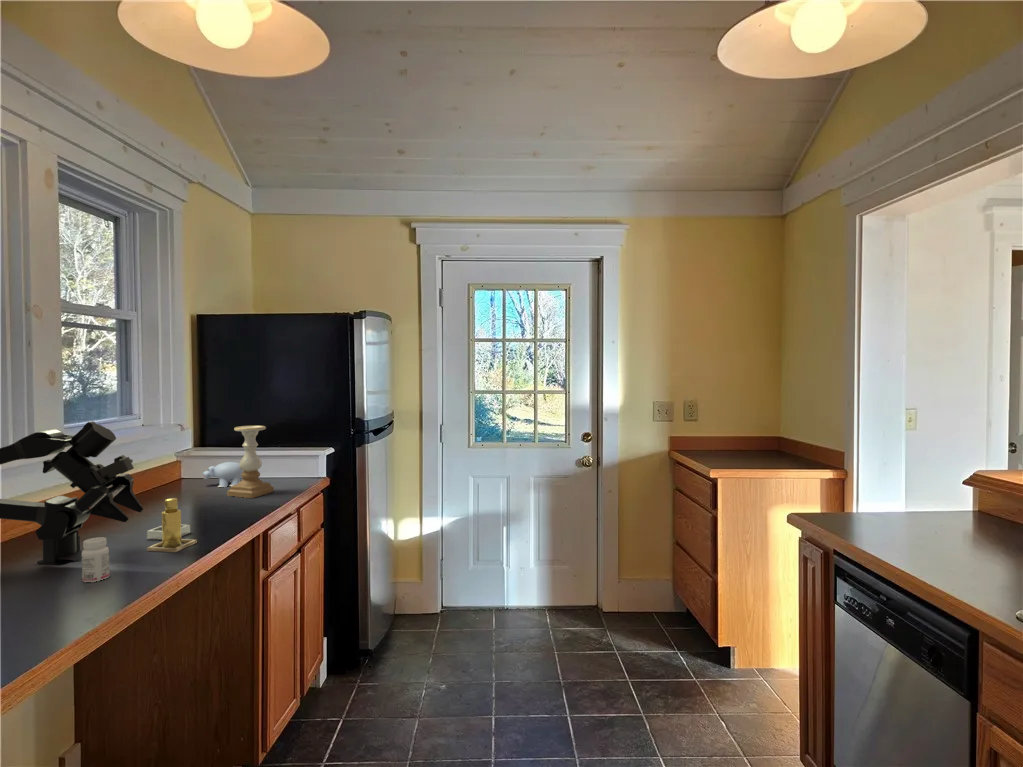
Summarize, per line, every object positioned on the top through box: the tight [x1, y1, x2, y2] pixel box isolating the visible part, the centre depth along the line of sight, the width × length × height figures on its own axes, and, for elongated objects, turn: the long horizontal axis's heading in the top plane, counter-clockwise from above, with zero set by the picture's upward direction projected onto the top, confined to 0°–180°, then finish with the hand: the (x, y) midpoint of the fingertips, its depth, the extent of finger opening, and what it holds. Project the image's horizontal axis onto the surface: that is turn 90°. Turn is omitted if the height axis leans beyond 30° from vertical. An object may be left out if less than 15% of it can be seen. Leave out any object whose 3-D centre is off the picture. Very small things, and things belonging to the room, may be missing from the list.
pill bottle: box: [81, 536, 111, 583], centre depth 123 cm, size 5×5×8 cm
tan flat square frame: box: [146, 538, 198, 553], centre depth 140 cm, size 8×8×2 cm
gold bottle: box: [161, 497, 182, 548], centre depth 140 cm, size 4×4×12 cm
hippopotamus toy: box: [202, 461, 244, 488], centre depth 220 cm, size 11×15×10 cm
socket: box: [146, 523, 192, 541], centre depth 149 cm, size 7×7×4 cm
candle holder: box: [226, 425, 275, 499], centre depth 204 cm, size 11×11×24 cm
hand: (134, 515), depth 138 cm, fingers open, 9 cm apart
